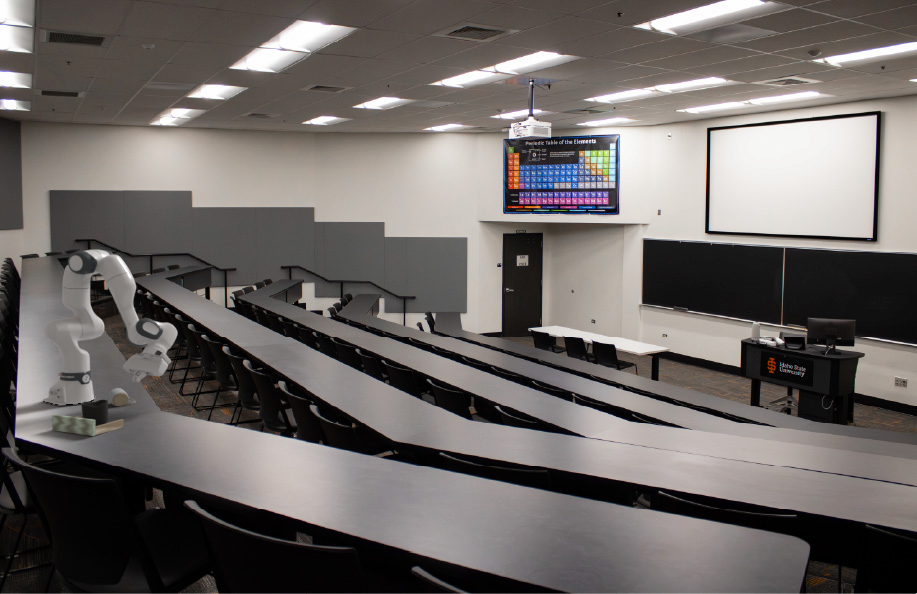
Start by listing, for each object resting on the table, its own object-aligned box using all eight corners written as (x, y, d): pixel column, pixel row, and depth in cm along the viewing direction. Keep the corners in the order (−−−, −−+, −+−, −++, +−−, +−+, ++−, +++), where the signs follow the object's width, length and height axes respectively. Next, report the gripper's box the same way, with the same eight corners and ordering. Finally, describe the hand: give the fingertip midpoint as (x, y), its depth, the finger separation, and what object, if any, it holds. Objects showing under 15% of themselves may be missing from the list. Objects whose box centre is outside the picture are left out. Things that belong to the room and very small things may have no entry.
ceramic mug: (112, 409, 307) (112, 392, 306) (107, 405, 313) (107, 389, 312) (138, 405, 314) (137, 389, 313) (132, 402, 320) (132, 386, 319)
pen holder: (99, 430, 271) (97, 405, 270) (77, 429, 272) (75, 404, 271) (114, 423, 280) (112, 399, 279) (92, 423, 281) (91, 399, 280)
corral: (52, 430, 270) (51, 415, 270) (84, 421, 284) (83, 407, 284) (93, 435, 263) (92, 420, 263) (123, 426, 277) (123, 412, 276)
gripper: (130, 348, 306) (112, 374, 298) (166, 353, 299) (149, 379, 291) (138, 357, 311) (121, 382, 302) (174, 361, 303) (157, 387, 295)
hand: (135, 381), depth 296 cm, fingers closed
